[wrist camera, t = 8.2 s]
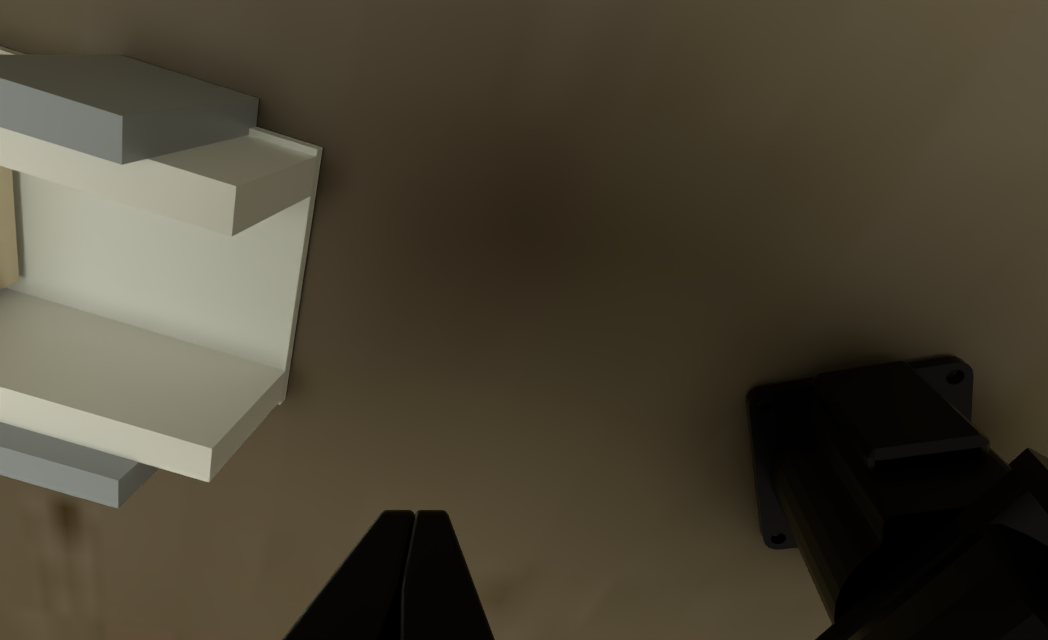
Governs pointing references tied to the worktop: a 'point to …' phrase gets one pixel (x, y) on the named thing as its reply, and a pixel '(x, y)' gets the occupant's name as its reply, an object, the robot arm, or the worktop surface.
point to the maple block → (7, 231)
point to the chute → (143, 272)
